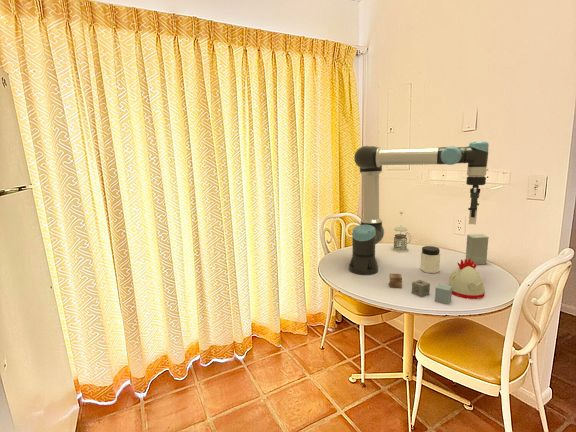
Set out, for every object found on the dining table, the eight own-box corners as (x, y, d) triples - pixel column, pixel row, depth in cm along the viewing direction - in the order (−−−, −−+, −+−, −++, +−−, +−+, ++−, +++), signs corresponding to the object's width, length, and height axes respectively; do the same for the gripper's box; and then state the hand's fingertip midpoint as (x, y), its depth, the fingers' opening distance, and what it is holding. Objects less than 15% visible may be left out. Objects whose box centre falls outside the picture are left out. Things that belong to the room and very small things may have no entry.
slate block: (434, 301, 123) (435, 287, 122) (438, 296, 127) (438, 283, 126) (448, 304, 120) (449, 290, 119) (451, 300, 124) (452, 286, 123)
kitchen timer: (440, 286, 137) (442, 254, 134) (469, 284, 138) (472, 253, 135) (460, 300, 124) (462, 265, 121) (492, 298, 124) (495, 263, 122)
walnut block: (390, 287, 138) (390, 277, 137) (389, 283, 143) (389, 273, 142) (401, 288, 136) (402, 278, 136) (400, 284, 141) (401, 274, 140)
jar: (432, 274, 151) (433, 251, 149) (417, 270, 157) (418, 248, 155) (442, 270, 156) (443, 248, 153) (427, 266, 162) (428, 245, 160)
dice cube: (419, 290, 134) (419, 279, 133) (429, 294, 130) (430, 283, 129) (411, 292, 132) (412, 282, 131) (421, 297, 127) (422, 286, 126)
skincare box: (480, 260, 168) (482, 233, 165) (487, 265, 161) (489, 236, 158) (464, 260, 169) (466, 233, 166) (470, 265, 162) (472, 236, 159)
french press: (397, 247, 199) (398, 209, 194) (413, 250, 190) (415, 211, 186) (388, 250, 193) (389, 211, 188) (405, 254, 184) (407, 214, 179)
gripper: (486, 178, 126) (481, 227, 130) (485, 174, 147) (482, 217, 151) (465, 177, 130) (461, 225, 134) (468, 174, 151) (464, 216, 155)
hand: (472, 221), depth 142 cm, fingers open, 13 cm apart
